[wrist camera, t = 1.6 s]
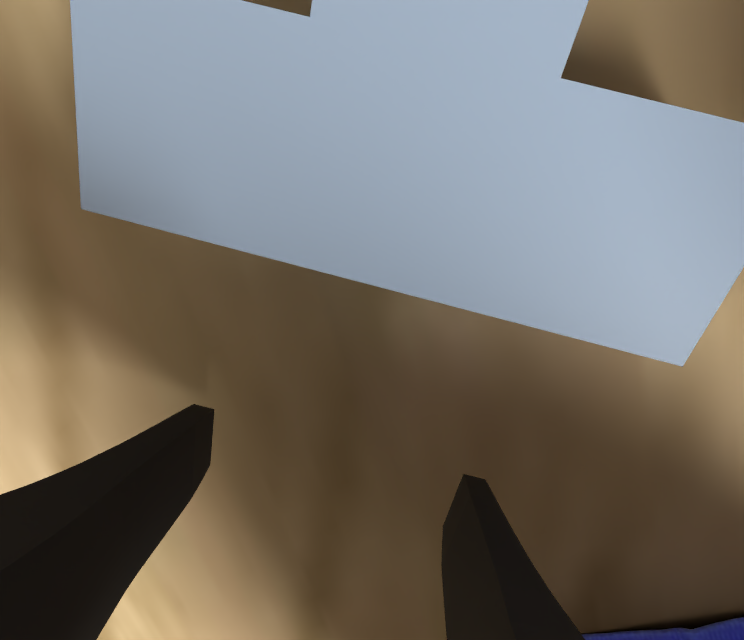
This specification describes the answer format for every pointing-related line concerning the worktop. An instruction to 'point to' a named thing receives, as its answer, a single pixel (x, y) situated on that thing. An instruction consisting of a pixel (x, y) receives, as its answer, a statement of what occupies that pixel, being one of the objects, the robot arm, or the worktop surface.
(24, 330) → the worktop surface
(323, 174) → the T block
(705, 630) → the lunch bag
